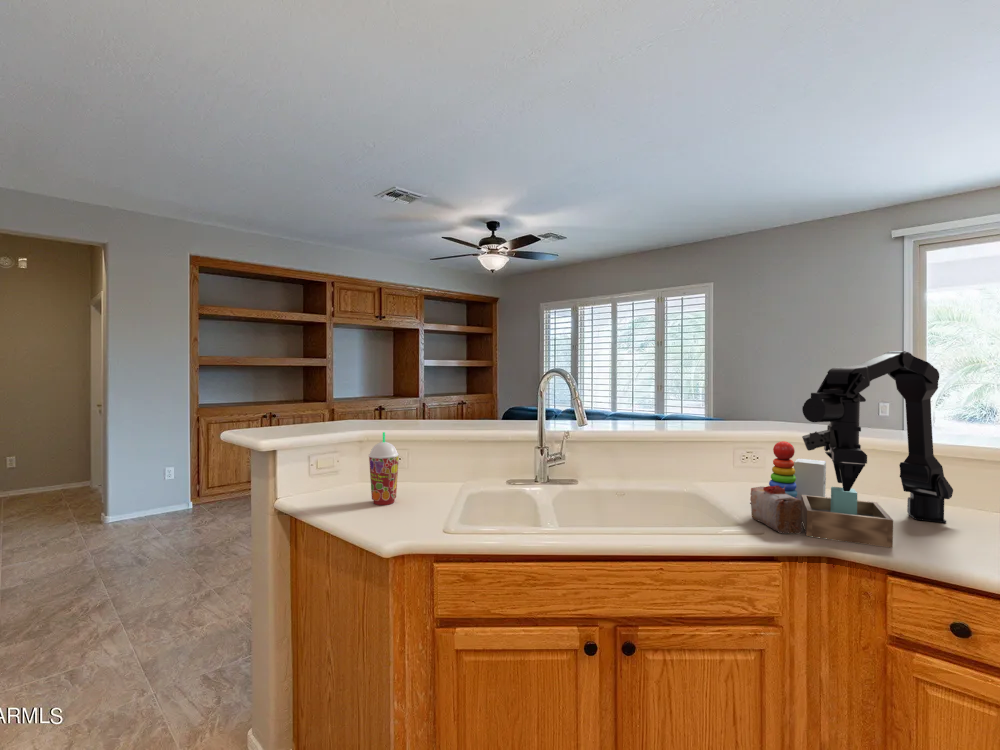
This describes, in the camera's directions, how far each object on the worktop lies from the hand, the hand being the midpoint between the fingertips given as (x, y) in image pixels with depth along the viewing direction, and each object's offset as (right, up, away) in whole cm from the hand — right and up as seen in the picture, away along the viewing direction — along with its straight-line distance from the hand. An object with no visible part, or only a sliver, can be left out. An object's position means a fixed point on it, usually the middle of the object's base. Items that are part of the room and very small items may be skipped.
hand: (843, 486), depth 122 cm
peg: (0, -11, 0) cm, 11 cm away
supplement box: (+5, -10, +22) cm, 25 cm away
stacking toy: (-4, -10, +18) cm, 21 cm away
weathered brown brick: (-13, -11, +5) cm, 18 cm away
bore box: (0, -11, 0) cm, 11 cm away
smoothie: (-114, -10, +24) cm, 117 cm away
